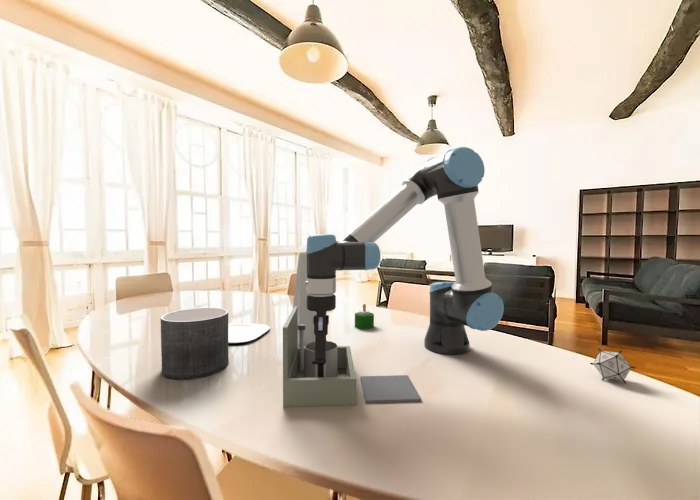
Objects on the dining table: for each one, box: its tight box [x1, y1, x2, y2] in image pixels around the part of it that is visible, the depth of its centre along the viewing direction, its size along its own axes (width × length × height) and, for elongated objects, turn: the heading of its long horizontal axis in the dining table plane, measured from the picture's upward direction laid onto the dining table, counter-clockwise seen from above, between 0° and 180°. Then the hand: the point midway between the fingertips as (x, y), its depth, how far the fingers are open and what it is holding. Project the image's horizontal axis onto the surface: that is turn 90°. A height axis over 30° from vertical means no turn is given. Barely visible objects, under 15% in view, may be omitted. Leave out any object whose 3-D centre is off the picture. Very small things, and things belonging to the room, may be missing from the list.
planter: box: [160, 307, 230, 380], centre depth 94 cm, size 18×18×16 cm
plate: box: [228, 322, 271, 345], centre depth 126 cm, size 25×25×2 cm
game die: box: [589, 347, 636, 384], centre depth 86 cm, size 9×8×10 cm
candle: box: [354, 303, 375, 330], centre depth 138 cm, size 8×8×10 cm
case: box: [282, 306, 357, 408], centre depth 83 cm, size 16×22×18 cm
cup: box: [304, 340, 338, 378], centre depth 83 cm, size 8×8×10 cm
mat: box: [359, 374, 422, 404], centre depth 80 cm, size 13×13×1 cm
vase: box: [292, 251, 317, 347], centre depth 114 cm, size 12×12×33 cm
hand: (321, 380), depth 83 cm, fingers open, 9 cm apart
